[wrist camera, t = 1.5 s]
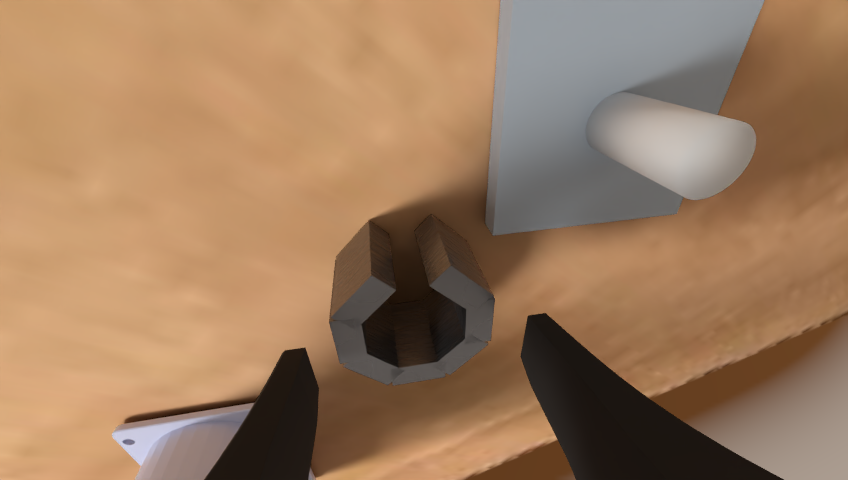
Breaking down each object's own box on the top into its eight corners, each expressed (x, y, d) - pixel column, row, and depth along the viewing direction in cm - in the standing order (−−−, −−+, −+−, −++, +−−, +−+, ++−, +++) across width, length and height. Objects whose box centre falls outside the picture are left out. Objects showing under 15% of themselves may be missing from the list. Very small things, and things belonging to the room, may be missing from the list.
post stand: (659, 203, 15) (773, 271, 11) (485, 223, 14) (537, 305, 10) (744, -24, 11) (984, -53, 7) (501, -16, 10) (604, -45, 6)
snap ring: (465, 309, 17) (487, 370, 14) (349, 326, 16) (347, 393, 13) (469, 209, 14) (498, 259, 11) (327, 224, 13) (318, 282, 10)
